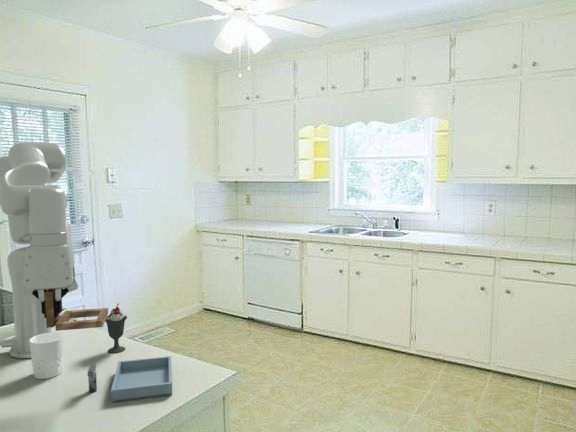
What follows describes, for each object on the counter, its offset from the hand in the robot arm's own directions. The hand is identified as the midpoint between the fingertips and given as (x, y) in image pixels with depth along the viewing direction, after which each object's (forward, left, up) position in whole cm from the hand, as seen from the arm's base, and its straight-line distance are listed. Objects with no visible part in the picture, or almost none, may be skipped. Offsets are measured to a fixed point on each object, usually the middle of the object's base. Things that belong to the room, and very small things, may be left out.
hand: (52, 315), depth 103 cm
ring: (+6, 0, -2) cm, 6 cm away
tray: (+20, +1, -20) cm, 28 cm away
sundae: (+11, +25, -20) cm, 34 cm away
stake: (+8, 0, -20) cm, 21 cm away
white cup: (-5, +13, -20) cm, 24 cm away
